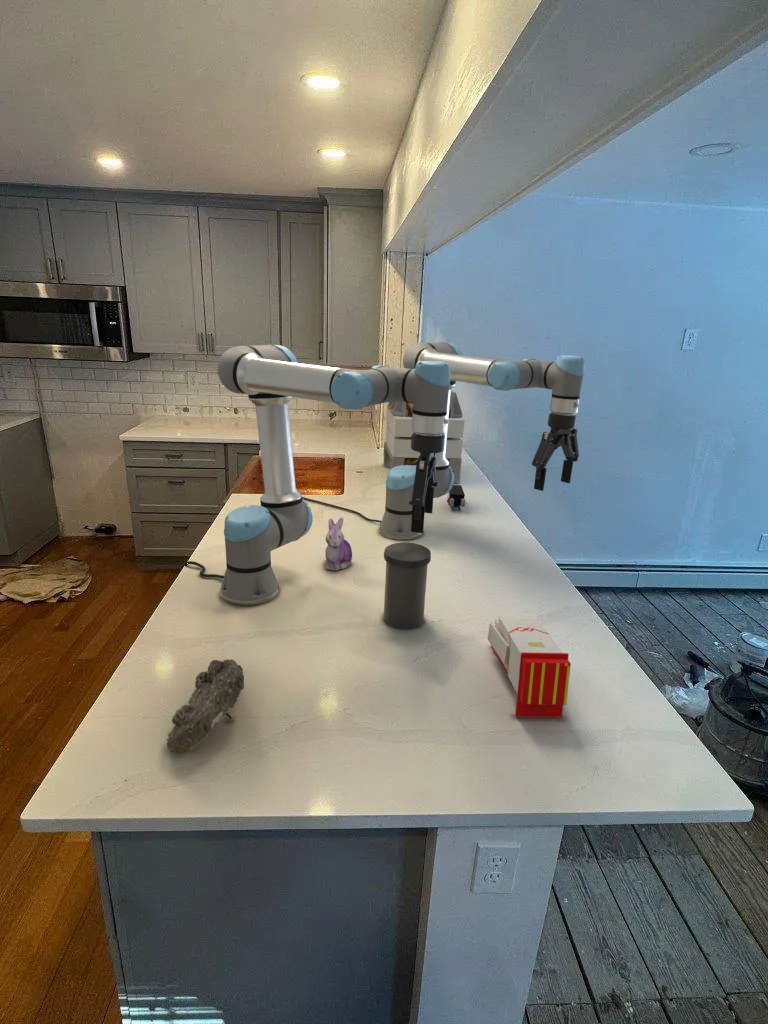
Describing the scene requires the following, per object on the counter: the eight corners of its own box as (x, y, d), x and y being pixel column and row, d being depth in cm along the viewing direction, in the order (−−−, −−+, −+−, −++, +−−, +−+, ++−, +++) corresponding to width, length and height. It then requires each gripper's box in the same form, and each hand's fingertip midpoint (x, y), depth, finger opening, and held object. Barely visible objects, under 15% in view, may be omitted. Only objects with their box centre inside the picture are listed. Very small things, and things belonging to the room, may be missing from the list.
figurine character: (465, 515, 224) (460, 499, 237) (467, 498, 221) (462, 483, 234) (448, 515, 224) (444, 499, 237) (450, 498, 220) (445, 482, 234)
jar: (412, 633, 139) (416, 565, 133) (376, 621, 144) (379, 555, 137) (430, 615, 147) (435, 551, 141) (395, 604, 152) (399, 541, 146)
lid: (417, 572, 132) (418, 565, 132) (375, 560, 138) (375, 553, 137) (438, 556, 142) (438, 549, 141) (397, 545, 147) (398, 538, 146)
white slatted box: (382, 463, 289) (386, 382, 275) (445, 464, 293) (451, 384, 279) (390, 482, 257) (394, 392, 243) (460, 483, 261) (468, 394, 247)
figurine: (330, 573, 167) (330, 526, 162) (317, 560, 176) (317, 515, 171) (359, 568, 172) (360, 522, 167) (345, 555, 180) (346, 511, 175)
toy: (534, 602, 136) (579, 659, 107) (529, 653, 139) (572, 723, 110) (484, 601, 136) (516, 658, 107) (480, 652, 139) (510, 722, 109)
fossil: (192, 660, 117) (244, 628, 112) (224, 691, 120) (276, 661, 115) (142, 746, 98) (202, 712, 93) (182, 779, 101) (242, 748, 96)
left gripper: (437, 446, 114) (429, 543, 121) (451, 424, 137) (444, 507, 144) (400, 443, 116) (395, 539, 123) (421, 421, 139) (415, 503, 146)
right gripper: (548, 419, 148) (537, 496, 155) (598, 411, 163) (586, 482, 171) (525, 414, 153) (515, 489, 160) (575, 407, 169) (564, 476, 176)
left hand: (422, 521), depth 134 cm, fingers open, 13 cm apart
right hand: (552, 485), depth 166 cm, fingers open, 13 cm apart
